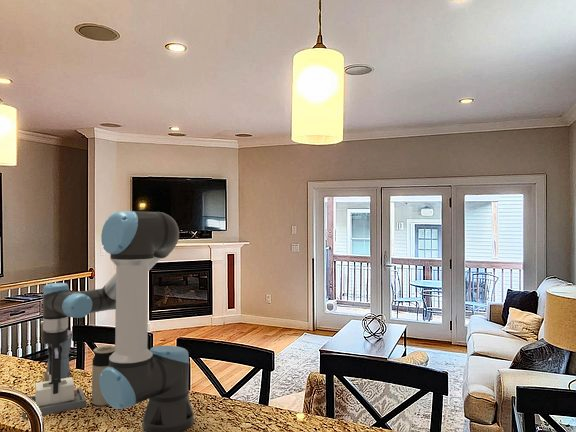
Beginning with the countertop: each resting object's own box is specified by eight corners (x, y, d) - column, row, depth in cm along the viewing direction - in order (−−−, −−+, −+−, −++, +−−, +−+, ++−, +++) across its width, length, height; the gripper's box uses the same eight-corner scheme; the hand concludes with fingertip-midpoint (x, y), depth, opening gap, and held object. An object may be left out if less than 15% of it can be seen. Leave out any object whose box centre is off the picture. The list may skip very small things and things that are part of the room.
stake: (53, 392, 159) (53, 372, 160) (43, 394, 158) (43, 374, 158) (52, 389, 162) (52, 370, 162) (42, 391, 161) (42, 371, 161)
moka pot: (57, 383, 168) (58, 330, 168) (33, 376, 175) (34, 325, 176) (80, 376, 176) (80, 325, 176) (56, 369, 184) (57, 320, 184)
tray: (86, 406, 148) (86, 400, 148) (22, 418, 138) (23, 412, 138) (81, 393, 159) (81, 387, 159) (22, 403, 149) (22, 397, 149)
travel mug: (86, 405, 149) (87, 351, 149) (100, 396, 157) (101, 344, 157) (109, 407, 148) (110, 352, 148) (121, 397, 156) (122, 346, 156)
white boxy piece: (75, 390, 156) (75, 376, 156) (78, 398, 149) (78, 383, 149) (35, 397, 149) (35, 382, 149) (36, 406, 142) (36, 391, 142)
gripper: (40, 324, 156) (39, 389, 156) (44, 338, 138) (42, 412, 138) (64, 322, 160) (63, 385, 159) (71, 335, 142) (69, 407, 142)
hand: (54, 398), depth 149 cm, fingers closed on white boxy piece, 8 cm apart
